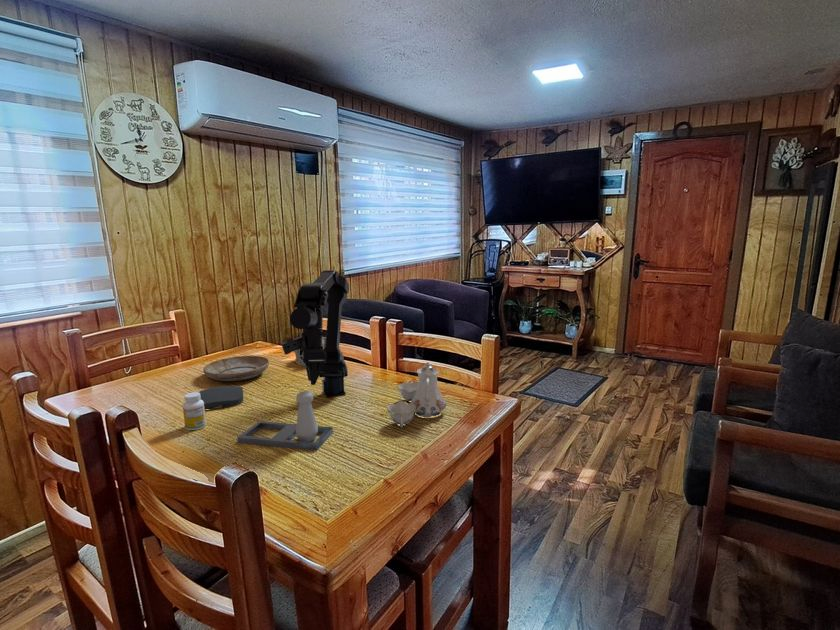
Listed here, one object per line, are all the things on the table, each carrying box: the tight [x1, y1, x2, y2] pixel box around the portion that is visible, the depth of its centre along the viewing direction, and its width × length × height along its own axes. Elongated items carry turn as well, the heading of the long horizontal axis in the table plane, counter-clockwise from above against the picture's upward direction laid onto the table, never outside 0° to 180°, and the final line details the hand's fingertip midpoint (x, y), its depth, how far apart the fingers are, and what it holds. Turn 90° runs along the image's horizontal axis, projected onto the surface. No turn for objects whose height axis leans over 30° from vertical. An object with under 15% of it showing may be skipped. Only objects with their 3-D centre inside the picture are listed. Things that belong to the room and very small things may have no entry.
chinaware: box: [386, 361, 447, 428], centre depth 135 cm, size 28×17×17 cm, turn 178°
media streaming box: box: [198, 385, 244, 410], centre depth 147 cm, size 15×15×3 cm
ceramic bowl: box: [203, 355, 270, 382], centre depth 171 cm, size 23×24×5 cm
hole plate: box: [236, 420, 334, 451], centre depth 121 cm, size 22×10×2 cm, turn 78°
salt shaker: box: [295, 390, 319, 442], centre depth 119 cm, size 6×6×13 cm
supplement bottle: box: [182, 391, 207, 431], centre depth 127 cm, size 5×5×10 cm
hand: (311, 382), depth 129 cm, fingers open, 9 cm apart
